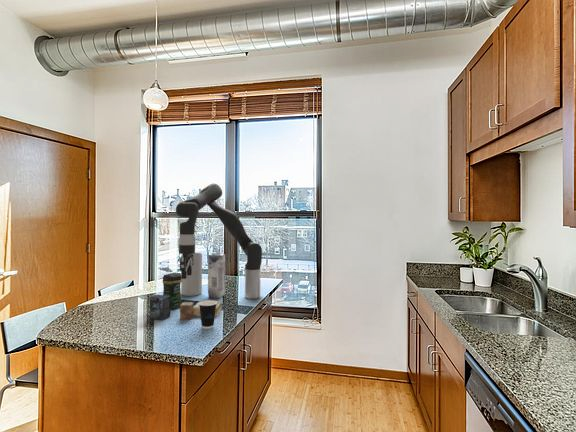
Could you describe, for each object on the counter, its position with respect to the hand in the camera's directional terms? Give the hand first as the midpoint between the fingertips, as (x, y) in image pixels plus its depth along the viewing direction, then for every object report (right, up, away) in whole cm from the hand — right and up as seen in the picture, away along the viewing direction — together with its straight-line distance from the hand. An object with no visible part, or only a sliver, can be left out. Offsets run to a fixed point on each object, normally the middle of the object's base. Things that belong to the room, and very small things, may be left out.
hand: (186, 276), depth 159 cm
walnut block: (0, -20, 0) cm, 20 cm away
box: (-13, -20, 0) cm, 24 cm away
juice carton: (+6, -20, +41) cm, 46 cm away
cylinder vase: (-12, -20, +47) cm, 52 cm away
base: (+8, -20, +9) cm, 23 cm away
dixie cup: (+13, -21, -12) cm, 27 cm away
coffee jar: (-13, -20, +17) cm, 29 cm away
